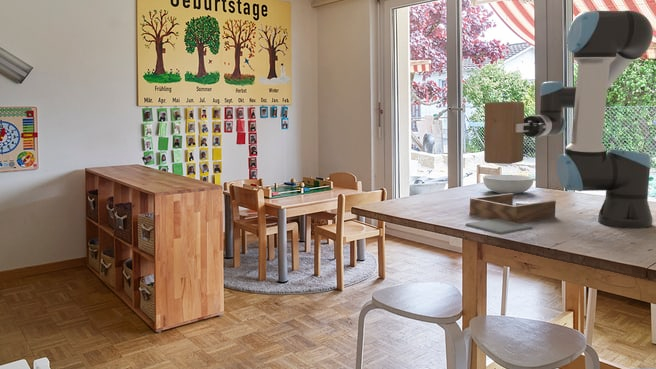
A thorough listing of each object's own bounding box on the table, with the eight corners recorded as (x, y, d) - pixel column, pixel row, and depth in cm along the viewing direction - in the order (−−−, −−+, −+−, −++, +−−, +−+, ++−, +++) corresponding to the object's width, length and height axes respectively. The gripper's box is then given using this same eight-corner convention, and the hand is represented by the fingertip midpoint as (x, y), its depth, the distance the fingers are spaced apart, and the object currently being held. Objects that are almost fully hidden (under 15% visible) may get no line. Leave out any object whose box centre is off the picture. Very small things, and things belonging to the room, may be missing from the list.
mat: (532, 228, 168) (532, 226, 168) (500, 233, 161) (500, 231, 161) (496, 220, 180) (497, 218, 180) (465, 225, 173) (465, 223, 173)
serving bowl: (543, 193, 234) (543, 177, 233) (513, 198, 222) (514, 181, 221) (501, 187, 251) (502, 172, 250) (472, 192, 239) (472, 176, 238)
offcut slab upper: (540, 208, 191) (540, 202, 190) (540, 210, 187) (541, 204, 187) (515, 207, 193) (516, 201, 193) (516, 209, 190) (516, 203, 189)
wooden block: (483, 163, 183) (483, 102, 180) (495, 160, 190) (496, 102, 187) (512, 164, 176) (513, 101, 173) (524, 161, 183) (525, 101, 181)
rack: (554, 216, 185) (555, 200, 184) (513, 223, 174) (514, 206, 174) (509, 208, 201) (510, 193, 200) (469, 213, 191) (470, 198, 190)
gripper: (567, 137, 186) (533, 140, 172) (506, 135, 204) (470, 137, 190) (568, 115, 185) (534, 116, 171) (506, 115, 203) (471, 116, 189)
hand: (500, 127), depth 180 cm, fingers closed on wooden block, 11 cm apart
